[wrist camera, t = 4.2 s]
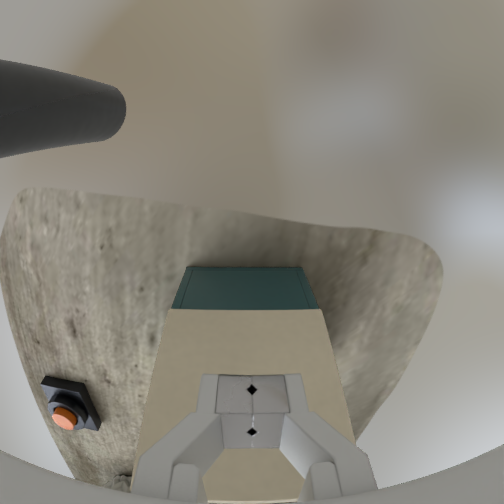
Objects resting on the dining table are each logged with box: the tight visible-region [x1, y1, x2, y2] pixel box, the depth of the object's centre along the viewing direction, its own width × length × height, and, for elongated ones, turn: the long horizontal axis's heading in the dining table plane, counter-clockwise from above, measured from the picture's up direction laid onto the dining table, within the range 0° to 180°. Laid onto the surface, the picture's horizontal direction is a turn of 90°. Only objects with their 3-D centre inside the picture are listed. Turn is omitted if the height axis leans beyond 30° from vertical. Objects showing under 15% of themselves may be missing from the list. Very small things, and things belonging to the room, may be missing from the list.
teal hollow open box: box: [171, 267, 319, 310], centre depth 33 cm, size 15×13×9 cm
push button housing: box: [41, 376, 102, 431], centre depth 41 cm, size 10×8×4 cm
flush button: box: [52, 407, 77, 430], centre depth 38 cm, size 4×4×2 cm
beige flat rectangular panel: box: [130, 309, 356, 504], centre depth 19 cm, size 15×13×1 cm
